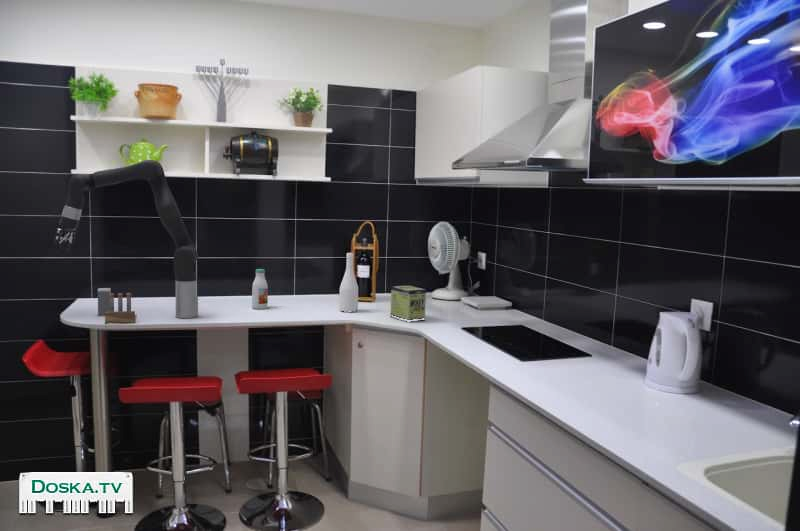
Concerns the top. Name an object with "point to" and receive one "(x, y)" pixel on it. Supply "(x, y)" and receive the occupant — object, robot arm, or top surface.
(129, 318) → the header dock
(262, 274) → the milk bottle
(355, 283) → the wine bottle
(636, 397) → the top surface
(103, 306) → the plug block
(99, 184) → the robot arm
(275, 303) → the top surface
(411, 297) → the protein box
